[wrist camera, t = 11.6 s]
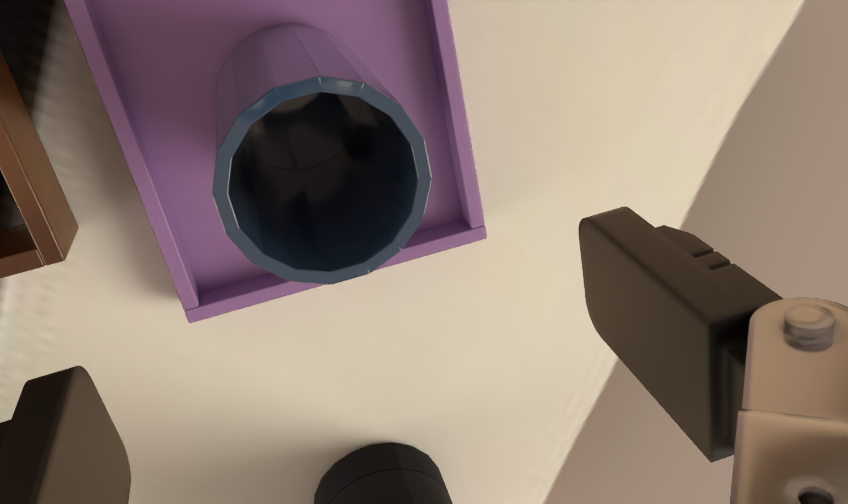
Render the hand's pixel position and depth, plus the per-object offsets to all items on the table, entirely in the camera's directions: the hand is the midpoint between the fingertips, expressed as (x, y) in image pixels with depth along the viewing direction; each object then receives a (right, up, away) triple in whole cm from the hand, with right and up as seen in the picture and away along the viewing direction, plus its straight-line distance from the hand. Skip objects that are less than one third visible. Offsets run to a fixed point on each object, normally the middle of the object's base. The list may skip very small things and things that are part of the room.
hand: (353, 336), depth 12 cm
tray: (-4, +7, +16) cm, 18 cm away
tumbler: (-4, +7, +16) cm, 18 cm away
